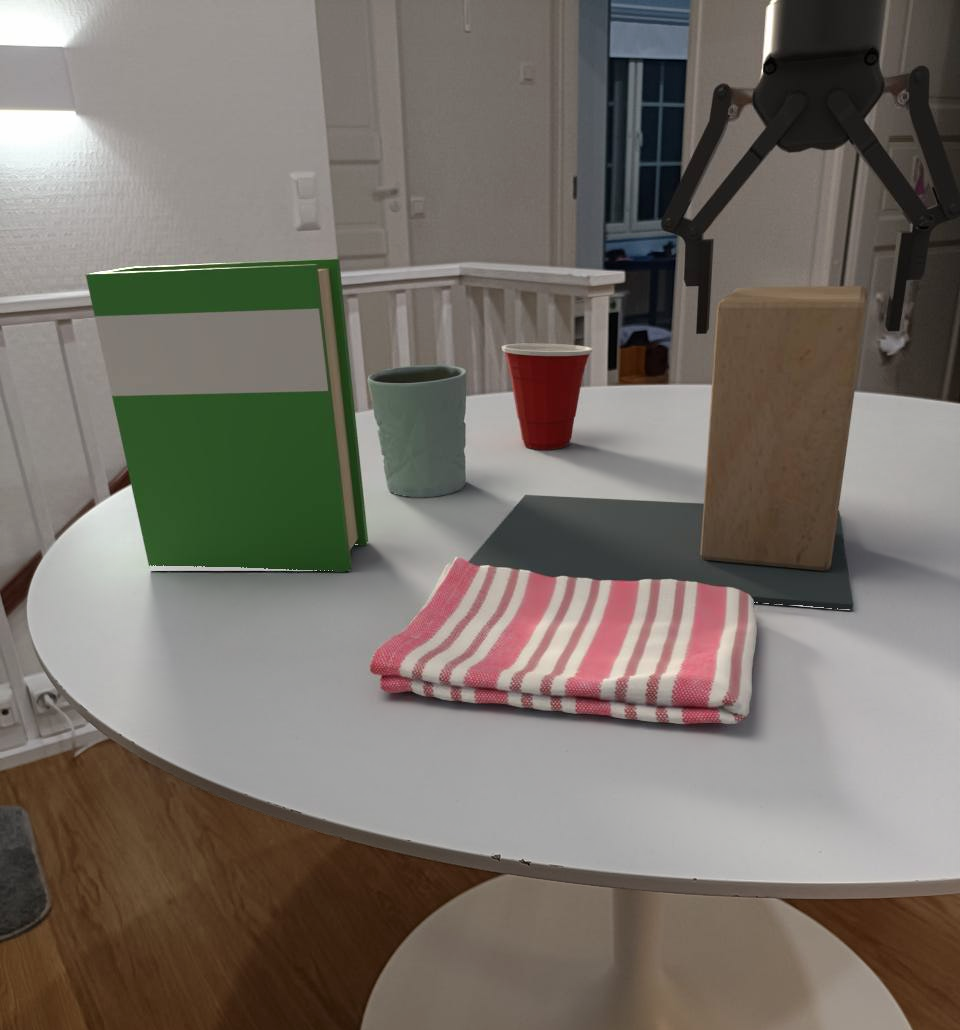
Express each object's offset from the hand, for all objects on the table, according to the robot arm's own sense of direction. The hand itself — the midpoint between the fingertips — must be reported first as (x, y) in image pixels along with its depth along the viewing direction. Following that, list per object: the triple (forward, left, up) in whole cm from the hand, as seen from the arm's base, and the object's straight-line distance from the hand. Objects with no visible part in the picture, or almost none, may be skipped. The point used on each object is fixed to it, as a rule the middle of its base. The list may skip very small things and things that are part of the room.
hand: (794, 330), depth 69 cm
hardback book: (+43, +9, -18) cm, 48 cm away
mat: (+9, 0, -18) cm, 20 cm away
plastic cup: (+27, -34, -18) cm, 47 cm away
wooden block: (0, 0, -18) cm, 18 cm away
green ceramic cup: (+36, -14, -18) cm, 43 cm away
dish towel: (+12, +22, -18) cm, 31 cm away
